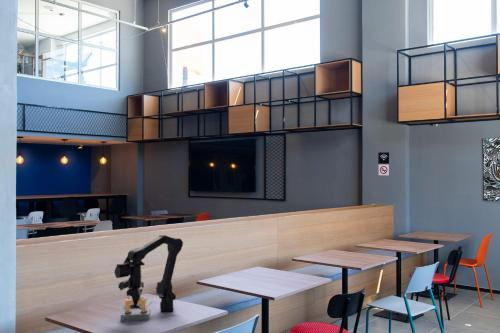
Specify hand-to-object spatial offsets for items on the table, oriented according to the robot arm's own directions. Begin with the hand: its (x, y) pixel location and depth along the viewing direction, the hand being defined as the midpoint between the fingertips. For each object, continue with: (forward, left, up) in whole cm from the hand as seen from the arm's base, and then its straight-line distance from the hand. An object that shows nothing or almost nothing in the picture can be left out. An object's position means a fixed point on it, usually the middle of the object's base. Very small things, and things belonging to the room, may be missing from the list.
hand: (135, 305), depth 246 cm
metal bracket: (+3, -25, -8) cm, 26 cm away
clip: (0, 0, -4) cm, 4 cm away
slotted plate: (0, 0, -7) cm, 7 cm away
